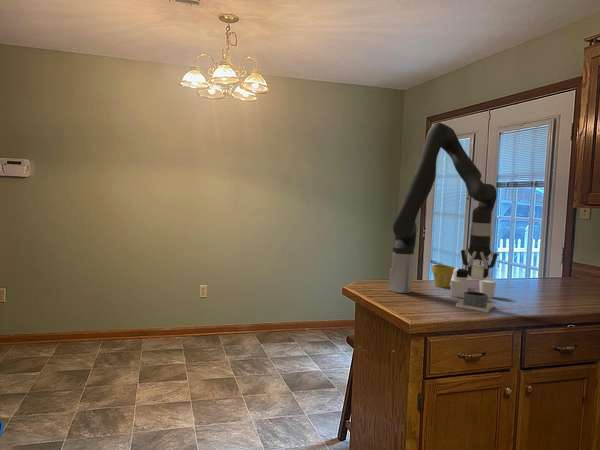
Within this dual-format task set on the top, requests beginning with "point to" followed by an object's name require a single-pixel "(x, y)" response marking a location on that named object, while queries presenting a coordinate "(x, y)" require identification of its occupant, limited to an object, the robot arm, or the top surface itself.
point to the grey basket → (475, 301)
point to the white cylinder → (487, 287)
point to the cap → (477, 272)
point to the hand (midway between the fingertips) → (477, 276)
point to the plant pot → (442, 275)
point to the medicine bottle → (459, 283)
